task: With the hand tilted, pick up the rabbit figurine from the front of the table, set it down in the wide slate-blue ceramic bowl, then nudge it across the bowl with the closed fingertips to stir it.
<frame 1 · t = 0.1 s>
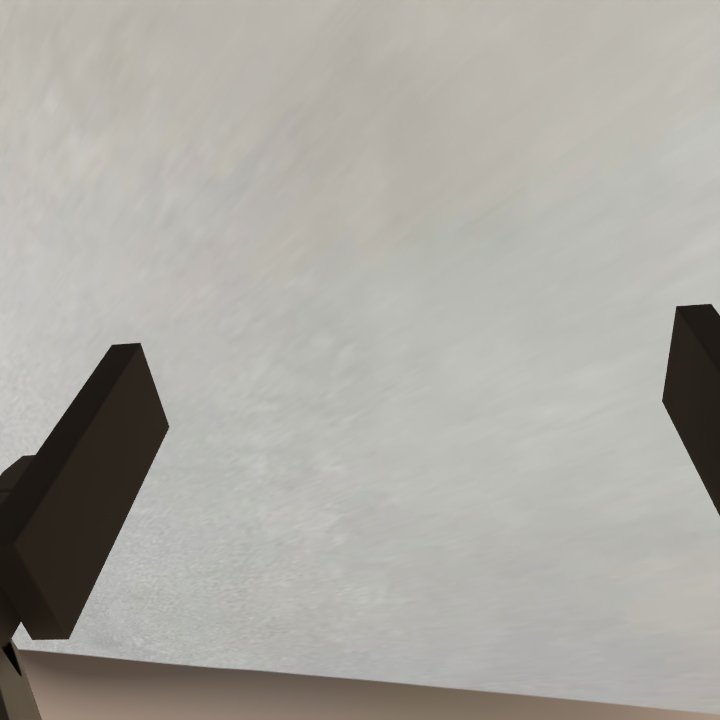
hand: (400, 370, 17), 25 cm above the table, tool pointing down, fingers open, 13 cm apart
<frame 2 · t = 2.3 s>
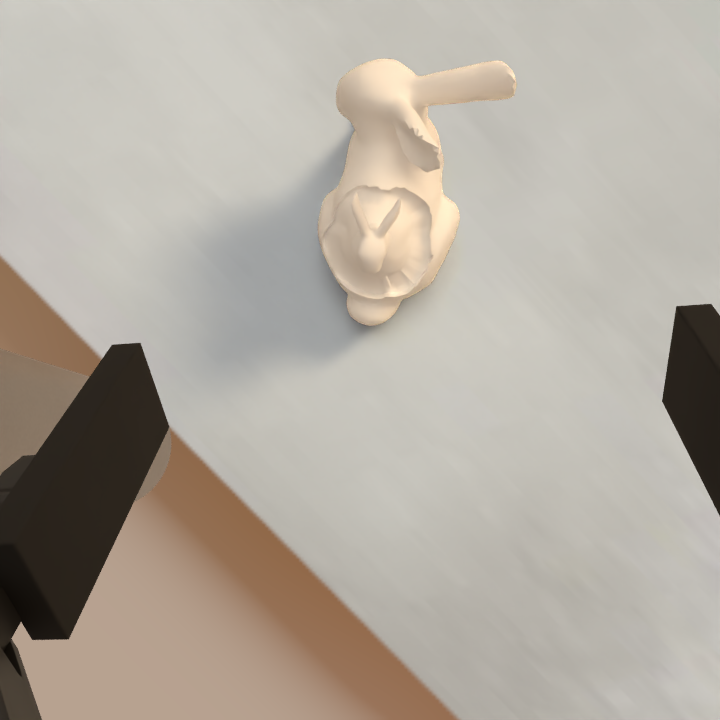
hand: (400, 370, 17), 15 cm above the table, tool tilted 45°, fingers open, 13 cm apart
rabbit figurine: (411, 219, 34), on the table
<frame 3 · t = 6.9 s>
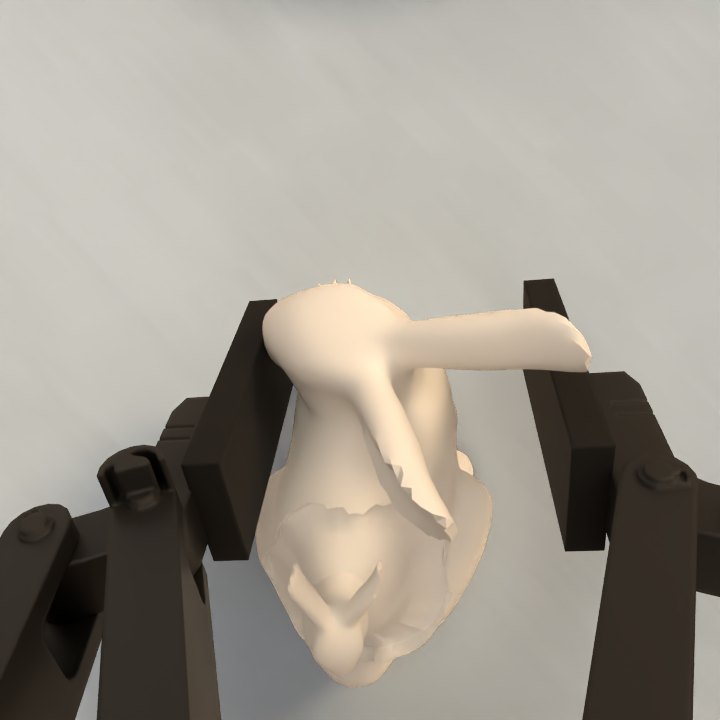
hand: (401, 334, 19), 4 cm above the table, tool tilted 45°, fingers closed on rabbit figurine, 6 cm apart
rabbit figurine: (413, 470, 21), on the table, touching gripper
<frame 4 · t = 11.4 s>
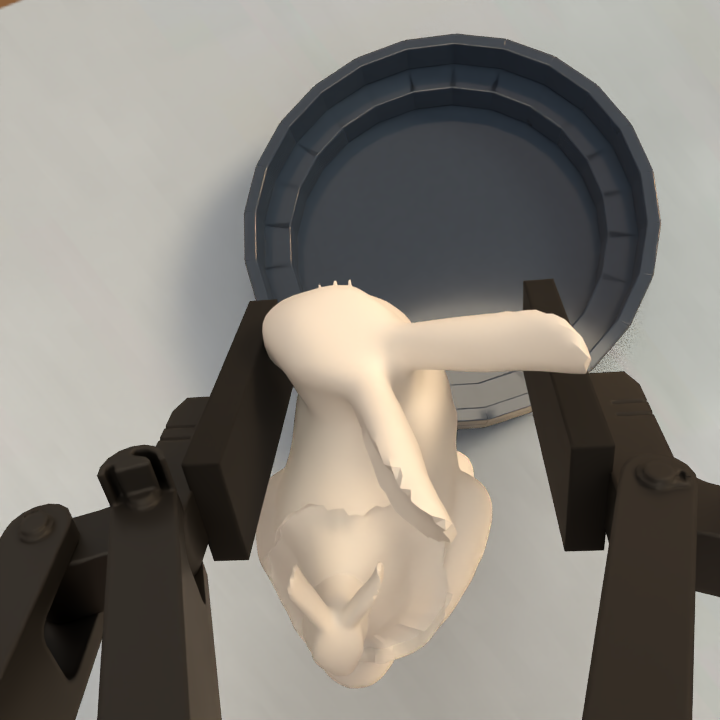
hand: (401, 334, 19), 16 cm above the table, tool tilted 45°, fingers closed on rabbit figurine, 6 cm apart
rabbit figurine: (414, 471, 21), point 13 cm above the table, touching gripper
bowl: (444, 247, 36), on the table
when the fingers open (4 cm above the table, at t = 16.3 s): rabbit figurine stays where it is, resting on bowl.
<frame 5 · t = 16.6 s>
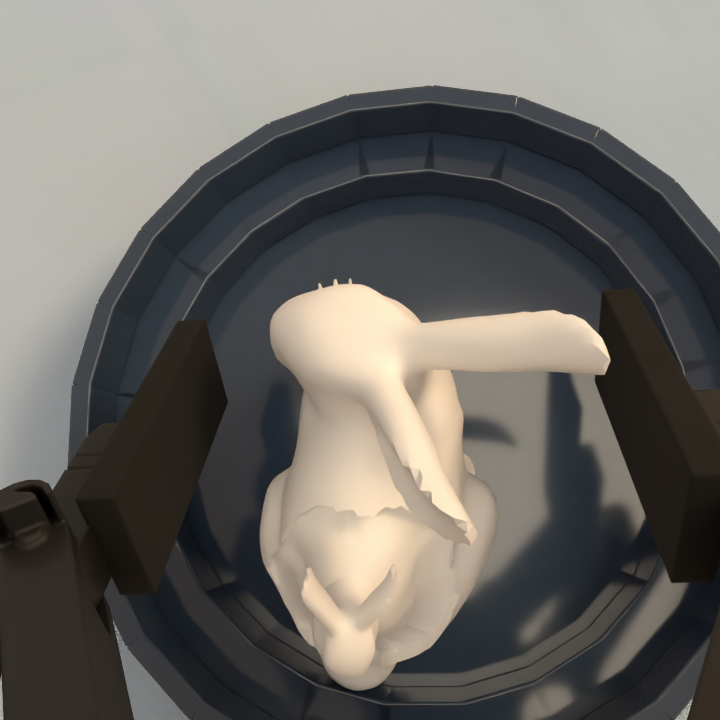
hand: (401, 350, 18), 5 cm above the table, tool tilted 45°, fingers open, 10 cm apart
rabbit figurine: (415, 471, 21), point 1 cm above the table, touching bowl
bowl: (413, 426, 22), on the table
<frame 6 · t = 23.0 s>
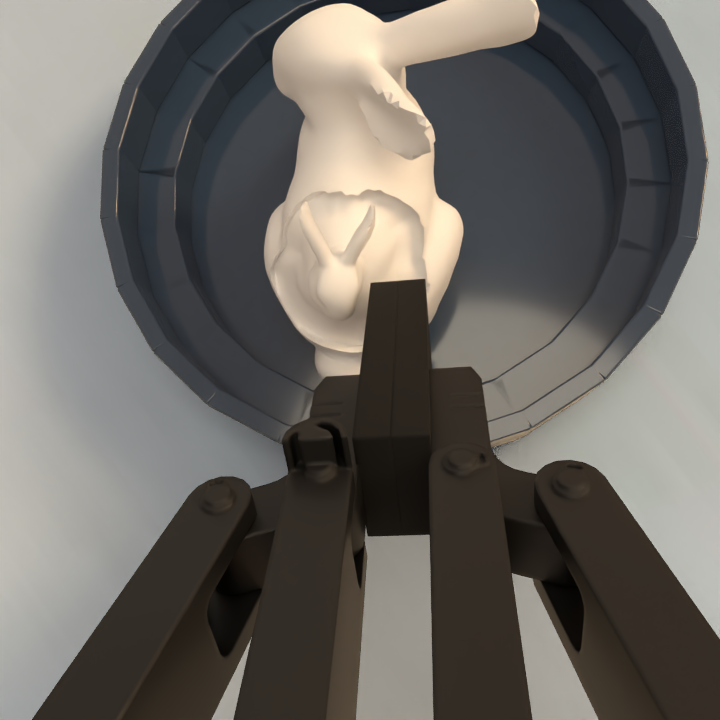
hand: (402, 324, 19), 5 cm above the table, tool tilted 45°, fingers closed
rabbit figurine: (396, 236, 25), point 1 cm above the table, touching bowl, gripper
bowl: (396, 206, 26), on the table
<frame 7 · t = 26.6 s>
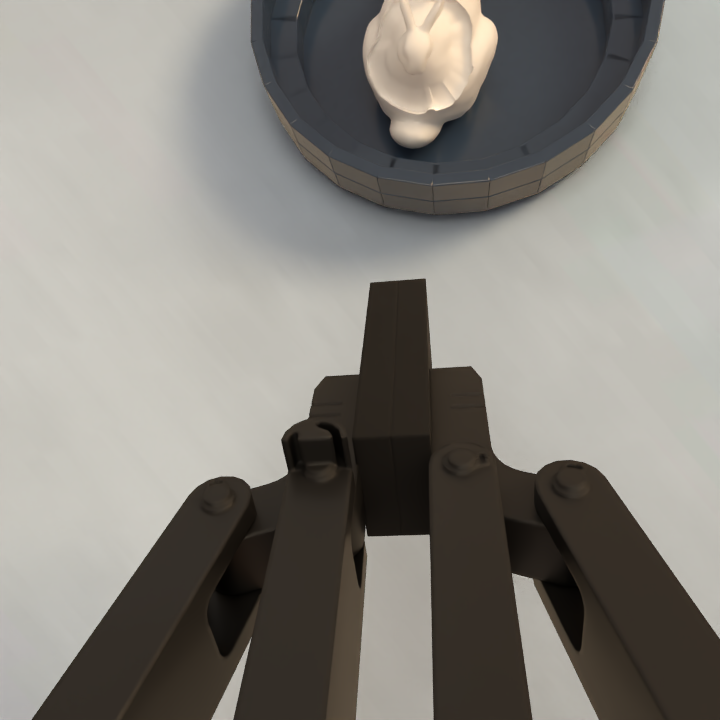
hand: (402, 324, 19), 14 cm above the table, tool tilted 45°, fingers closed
rabbit figurine: (449, 60, 35), point 1 cm above the table, touching bowl
bowl: (449, 49, 36), on the table
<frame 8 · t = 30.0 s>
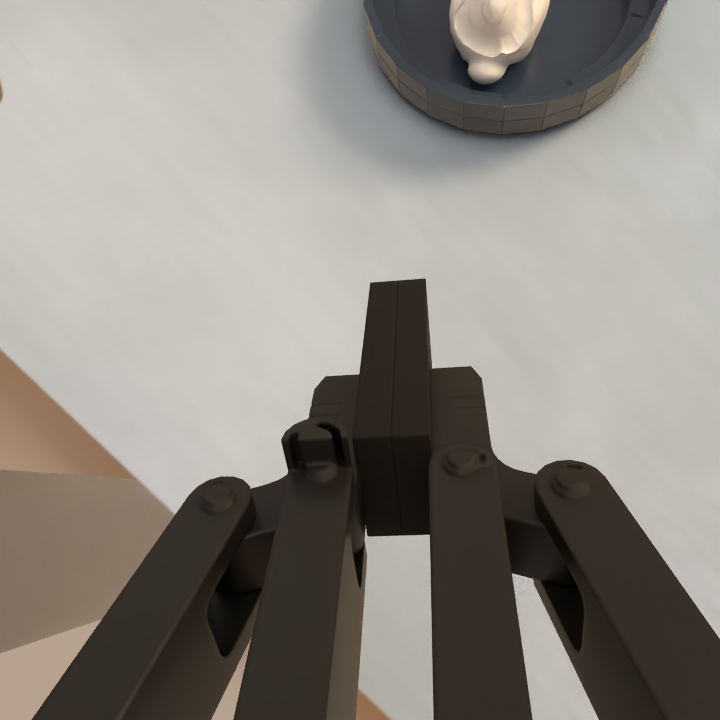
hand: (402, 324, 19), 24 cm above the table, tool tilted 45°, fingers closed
rabbit figurine: (509, 20, 47), point 1 cm above the table, touching bowl
bowl: (507, 13, 47), on the table
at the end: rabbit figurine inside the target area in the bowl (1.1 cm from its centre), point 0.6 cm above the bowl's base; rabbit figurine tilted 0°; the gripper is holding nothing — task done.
